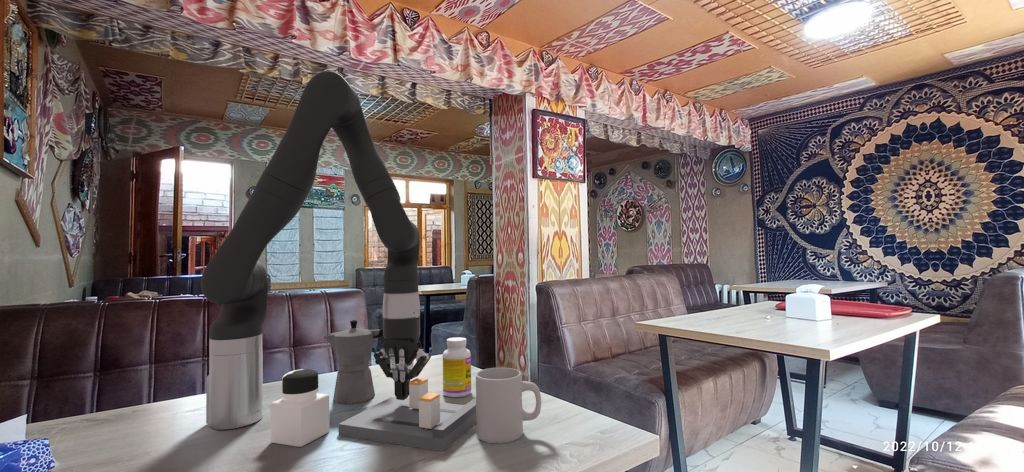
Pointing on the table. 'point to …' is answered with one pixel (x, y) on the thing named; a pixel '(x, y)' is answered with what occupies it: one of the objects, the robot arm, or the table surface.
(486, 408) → the mug
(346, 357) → the coffeepot
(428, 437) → the console
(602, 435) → the table surface
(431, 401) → the fader near
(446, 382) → the supplement bottle
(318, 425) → the medicine bottle
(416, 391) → the fader far
